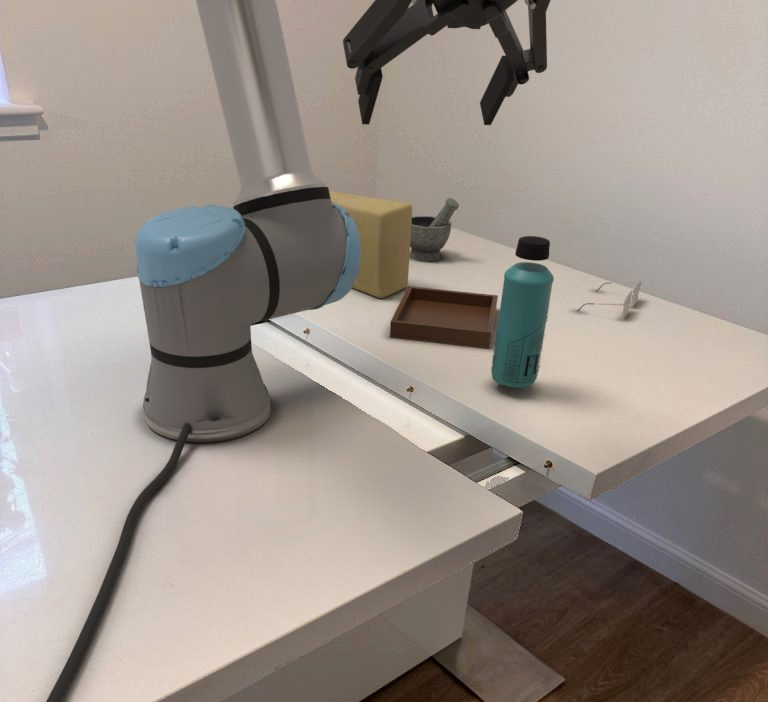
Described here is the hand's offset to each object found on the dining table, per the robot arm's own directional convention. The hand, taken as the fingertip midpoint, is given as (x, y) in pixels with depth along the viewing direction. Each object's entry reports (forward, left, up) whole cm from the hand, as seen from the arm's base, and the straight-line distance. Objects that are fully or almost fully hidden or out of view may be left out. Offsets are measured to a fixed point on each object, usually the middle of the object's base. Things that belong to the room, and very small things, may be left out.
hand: (425, 113), depth 76 cm
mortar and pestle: (+61, +23, -34) cm, 73 cm away
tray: (+28, +6, -33) cm, 44 cm away
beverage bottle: (+10, -11, -34) cm, 37 cm away
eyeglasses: (+52, -16, -34) cm, 64 cm away
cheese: (+38, +30, -34) cm, 59 cm away
